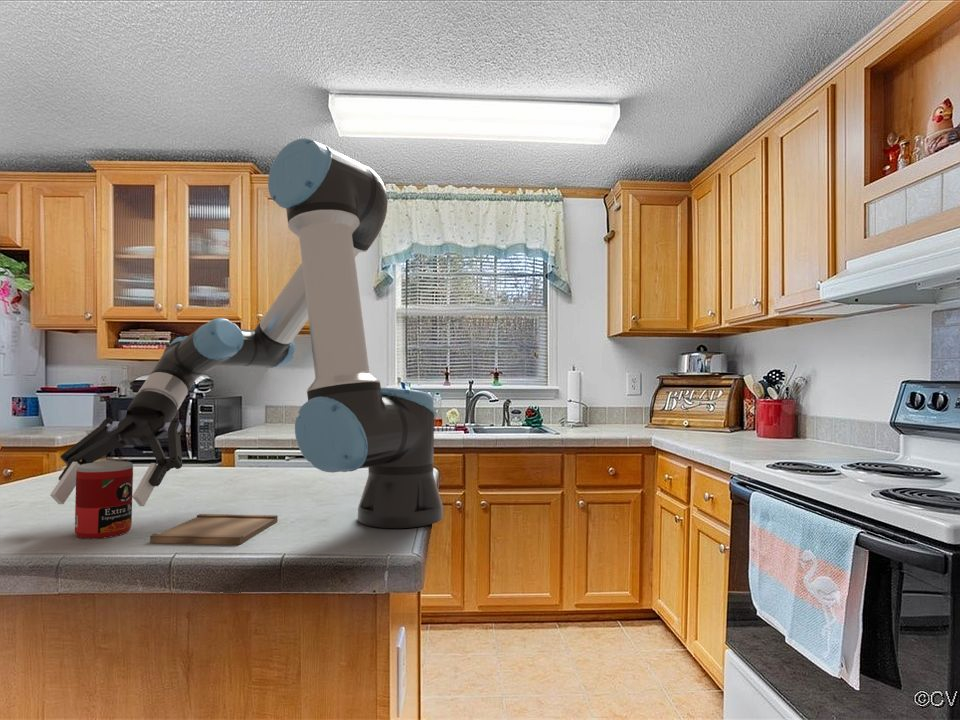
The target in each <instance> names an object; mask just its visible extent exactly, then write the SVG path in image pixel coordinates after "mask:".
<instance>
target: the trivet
mask: <svg viewBox="0 0 960 720" xmlns="http://www.w3.org/2000/svg"><path fill="white" fill-rule="evenodd" d="M278 517H279V516H278V515H277V514H276V515H275V514H272V515H271V514H270V515H269V514H267V515H266V514H224V513H223V514H222V513H221V514H219V513H217V514H215V513H198V514H197V515H196V517H194V518H191V519H189V520H187V521H185V522H182V523H180V524H178V525H176V526H173V527H171V528H169V529H166V530H164V531H162V532H160V533H153V534H151V535H150V536H149V543H150V544H184V545H187V544H189V545H191V544H192V543H193V544H192V545H194V544H195V545H227V544H230V545H231V544H232V545H231V546H234V545H239V546H240V545H242V544H243V542H244V543H245V542H247V541H249V540H250V539H252V538H253V537H256V536H257V535H258V534H260V533H262V532H263V531H265V530H266V529H268V528H270V527H271V526H273V525H275V524H276V523H278V519H279V518H278ZM269 526H270V527H269ZM264 529H265V530H264ZM261 531H262V532H261ZM256 534H257V535H256Z"/></svg>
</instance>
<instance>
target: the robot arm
mask: <svg viewBox="0 0 960 720" xmlns="http://www.w3.org/2000/svg"><path fill="white" fill-rule="evenodd" d="M267 188H268V193H269V195H270V198H271V200H272V201H273V202H275V203H276V205H278V206H279V207H280V208H282V209H285V210H286V211H285V212H286V219H287V226H288V229H289V231H291V233H293V234H295V236H297V237H298V238H299V249H300V254H301V255H300V256H301V263H300V264H299V266H298V267H297V269H296V270H295V272H294V273H293V274H292V276H291V278H290V279H289V280H288V282H287V283H286V285H284V288H283V289H282V290H281V292H280V293H279V294H278V295H277V298H275V300H274V302H273V303H272V304H271V305H270V307H269V309H268V310H267V312H266V313H265V315H264V316H263V317H262V319H261V320H260V321H259V322H258V324H257V325H256V326H255V328H254V329H253V330H252V329H243V328H240V327H239V326H238V325H237V324H236V323H235V322H232V321H231V320H229V319H228V318H224V317H221V318H220V317H218V318H214V319H212V320H210V321H209V322H206V323H205V324H202V325H201V326H199V327H198V328H197V329H196V330H194V331H193V332H192V333H191V334H189V335H185V336H178V337H176V338H174V339H173V340H172V341H171V342H170V344H169V345H168V346H166V347H165V349H164V350H163V353H162V355H161V356H160V358H159V360H158V361H157V363H156V364H155V365H154V367H153V369H152V371H151V372H150V373H149V375H148V376H147V378H146V379H145V381H144V382H143V384H142V385H141V387H140V388H139V390H138V391H137V394H136V395H135V396H134V398H133V399H132V400H131V402H130V404H129V405H128V407H127V410H126V414H125V417H124V418H122V419H121V420H120V421H116V420H115V421H114V420H113V419H112V418H111V417H106V418H104V419H103V421H102V422H101V423H100V424H99V426H98V427H96V428H95V429H94V430H93V431H90V433H88V434H87V435H86V436H84V437H83V438H81V440H79V441H78V442H77V443H76V444H74V445H72V446H71V447H70V448H68V449H67V450H66V451H64V452H63V453H62V454H61V455H60V459H61V460H62V461H63V462H64V463H65V465H66V466H65V468H64V469H63V470H62V472H61V473H60V475H59V476H58V483H57V484H56V485H55V487H54V488H53V490H52V491H51V492H50V494H49V496H51V498H52V499H53V500H54V501H55V502H56V503H57V504H58V505H65V502H67V499H68V498H69V496H70V495H71V494H72V492H73V491H74V489H76V470H77V466H79V465H82V464H87V463H95V462H96V461H98V460H99V459H101V458H102V457H104V456H106V455H108V454H109V453H111V452H113V451H115V450H116V449H122V448H124V447H126V446H134V445H137V446H146V445H147V444H148V445H149V447H150V449H151V451H152V454H153V456H154V458H155V461H156V462H151V463H150V464H149V465H148V468H147V470H146V471H145V473H144V475H143V477H142V479H141V480H140V482H139V484H138V486H137V487H136V489H135V491H134V493H132V499H133V500H134V501H135V502H136V503H137V505H138V506H139V507H145V506H146V503H148V500H149V498H150V496H151V495H152V492H153V491H154V489H155V487H159V486H160V485H161V484H162V482H163V480H164V478H165V476H166V474H167V472H169V471H170V470H172V469H176V470H179V469H181V468H182V467H183V456H182V454H183V453H182V444H181V443H182V442H181V436H182V434H183V431H184V427H183V425H182V423H181V422H180V420H179V419H178V418H175V416H176V414H177V413H178V410H179V409H180V408H181V406H182V403H183V402H184V400H185V399H186V397H187V395H188V394H189V392H190V390H191V388H192V387H193V385H194V384H195V382H196V381H197V379H198V378H200V377H201V376H203V375H205V374H206V373H208V372H210V371H211V370H213V369H214V368H216V367H221V366H222V367H252V368H253V367H256V368H267V369H269V368H281V367H285V366H287V365H289V364H290V363H291V361H292V359H293V358H294V353H295V352H296V350H295V349H296V348H295V343H294V339H295V338H296V337H297V336H298V335H299V333H300V332H301V331H302V329H303V327H304V326H305V325H306V324H307V322H308V324H309V325H308V326H309V334H310V343H311V352H312V361H313V368H314V380H313V382H312V383H311V384H310V386H308V388H307V390H306V394H307V401H306V402H305V403H304V404H303V405H302V406H301V407H300V408H299V410H298V414H299V415H298V416H296V417H295V422H294V435H295V439H296V444H297V446H298V449H299V451H300V452H301V455H302V456H303V458H304V459H305V460H306V461H307V462H308V463H311V465H312V466H313V468H315V469H316V470H317V469H318V470H319V471H320V472H321V471H322V472H324V473H333V474H334V473H347V472H354V471H357V470H358V469H364V468H365V469H366V468H368V474H367V475H368V476H367V479H366V482H365V486H364V488H363V491H362V495H361V498H360V501H359V504H358V506H357V520H358V522H359V523H360V524H363V525H365V526H369V527H374V528H382V529H407V528H409V529H410V528H411V529H412V528H418V527H425V526H430V525H433V524H436V523H438V522H440V521H441V520H443V516H444V514H443V513H444V508H443V507H444V505H443V502H442V499H441V496H440V495H441V494H440V493H439V489H438V486H437V483H436V479H435V475H434V452H435V451H434V450H435V449H434V445H435V444H434V442H435V440H434V439H435V432H434V431H435V417H436V412H435V409H434V408H435V406H434V398H433V397H432V395H431V394H430V393H428V392H425V391H422V390H417V389H407V388H400V387H399V388H398V387H382V386H381V380H379V379H378V378H377V377H376V376H374V375H373V374H372V373H371V372H370V367H369V360H368V359H369V358H368V352H367V350H368V349H367V344H366V337H365V336H366V335H365V328H364V319H363V312H362V303H361V294H360V289H359V281H358V272H357V265H356V263H357V262H356V258H357V256H358V254H359V253H365V252H367V251H368V250H369V248H371V246H372V245H373V244H374V242H375V240H376V239H377V237H378V236H379V234H380V233H381V230H382V228H383V225H384V223H385V220H386V218H387V213H388V201H389V200H388V195H387V190H386V187H385V184H384V182H383V180H382V179H381V177H380V176H379V175H378V174H377V172H376V171H375V170H374V169H372V168H371V167H370V166H368V165H366V164H364V163H361V162H359V161H357V160H355V159H352V158H351V157H349V156H346V155H344V154H343V153H340V152H339V151H336V150H334V149H333V148H331V147H329V146H328V145H327V144H325V143H322V142H318V141H315V140H312V139H310V138H299V139H295V140H292V141H290V142H289V143H288V144H286V145H285V146H284V147H283V148H282V149H281V150H280V151H279V152H278V153H277V155H276V157H275V158H274V160H273V162H272V164H271V165H270V169H269V172H268V180H267ZM165 432H167V441H168V457H167V456H166V455H165V451H164V450H163V449H162V445H161V443H160V441H159V437H160V436H161V435H163V434H164V433H165ZM117 436H119V437H120V439H121V440H119V439H118V438H117Z"/></svg>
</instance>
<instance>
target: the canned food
mask: <svg viewBox="0 0 960 720" xmlns="http://www.w3.org/2000/svg"><path fill="white" fill-rule="evenodd" d="M133 465H134V464H133V462H131V461H122V460H121V461H120V460H119V461H118V460H116V461H115V460H114V461H113V460H111V461H99V462H96V461H94V462H93V463H87V464H82V465H79V466H77V470H76V486H75V502H74V503H75V506H74V509H75V511H74V533H75V535H76V537H77V538H79V537H80V539H84V538H90V539H89V540H93V539H92V538H98V539H105V538H104V537H108V538H111V537H110V536H113V537H117V536H116V535H118V536H120V534H122V535H124V534H126V532H127V533H128V532H129V531H130V530H131V527H132V522H133V521H132V520H133V518H132V515H133V497H132V496H133V487H134V486H133V484H134V483H133V482H134V466H133ZM123 533H124V534H123Z"/></svg>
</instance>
